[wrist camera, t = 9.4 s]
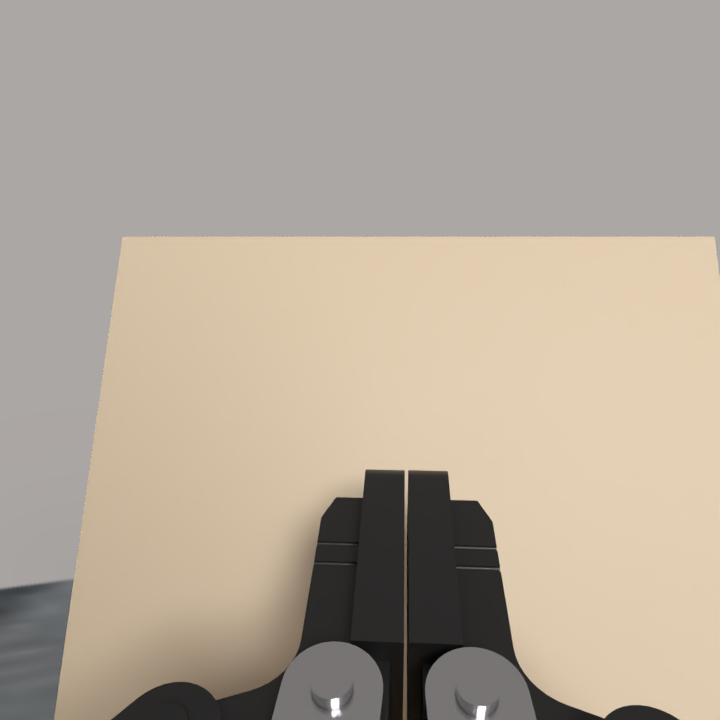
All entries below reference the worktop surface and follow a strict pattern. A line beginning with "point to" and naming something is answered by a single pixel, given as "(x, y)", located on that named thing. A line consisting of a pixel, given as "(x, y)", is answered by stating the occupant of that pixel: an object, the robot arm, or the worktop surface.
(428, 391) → the carton flap
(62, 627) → the worktop surface
